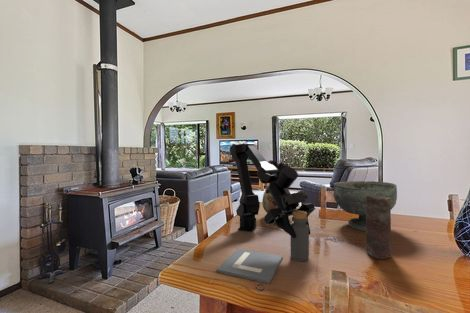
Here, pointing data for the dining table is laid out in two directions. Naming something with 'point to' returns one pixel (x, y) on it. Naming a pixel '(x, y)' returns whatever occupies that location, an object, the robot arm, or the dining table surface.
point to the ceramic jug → (267, 197)
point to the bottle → (300, 236)
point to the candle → (378, 226)
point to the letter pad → (251, 265)
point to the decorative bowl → (361, 198)
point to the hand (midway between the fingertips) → (302, 235)
